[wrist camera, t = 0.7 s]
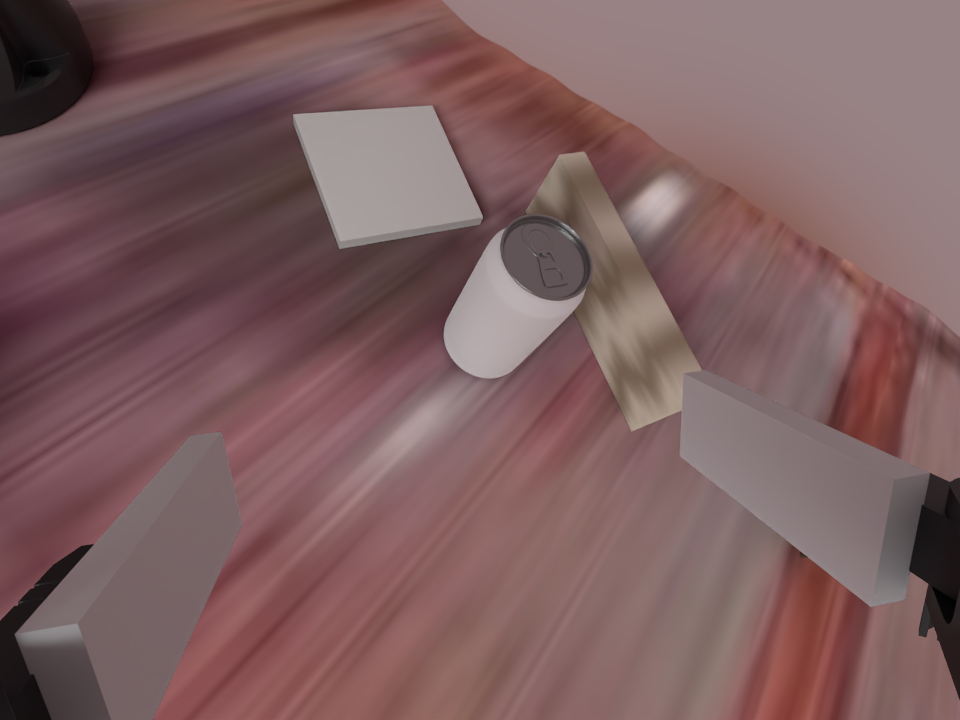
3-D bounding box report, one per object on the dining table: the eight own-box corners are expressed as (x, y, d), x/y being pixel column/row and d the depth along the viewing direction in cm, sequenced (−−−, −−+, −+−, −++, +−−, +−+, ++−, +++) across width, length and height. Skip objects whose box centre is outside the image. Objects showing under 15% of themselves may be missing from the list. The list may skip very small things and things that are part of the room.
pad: (293, 124, 41) (293, 114, 40) (429, 114, 46) (432, 105, 45) (339, 249, 38) (340, 241, 37) (479, 224, 43) (483, 217, 42)
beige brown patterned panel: (525, 211, 45) (559, 154, 39) (547, 207, 46) (584, 151, 40) (631, 431, 40) (690, 406, 34) (654, 422, 41) (715, 395, 35)
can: (506, 297, 41) (575, 203, 30) (533, 371, 39) (616, 297, 29) (431, 309, 39) (478, 211, 28) (456, 388, 37) (516, 315, 26)
